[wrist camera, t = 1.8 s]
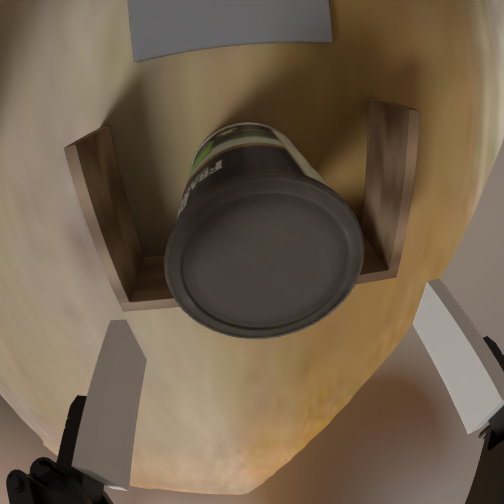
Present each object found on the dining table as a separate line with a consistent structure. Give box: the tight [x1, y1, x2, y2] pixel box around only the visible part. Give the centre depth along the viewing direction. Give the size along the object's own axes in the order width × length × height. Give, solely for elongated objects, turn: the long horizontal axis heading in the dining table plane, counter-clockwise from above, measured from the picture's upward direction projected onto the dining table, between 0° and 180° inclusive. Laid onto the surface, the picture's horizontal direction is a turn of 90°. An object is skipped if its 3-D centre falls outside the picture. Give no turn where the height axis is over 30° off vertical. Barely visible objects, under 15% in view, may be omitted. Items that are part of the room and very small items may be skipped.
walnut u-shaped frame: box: [64, 98, 420, 311], centre depth 24 cm, size 15×25×7 cm, turn 95°
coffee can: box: [164, 122, 364, 339], centre depth 21 cm, size 10×10×14 cm
